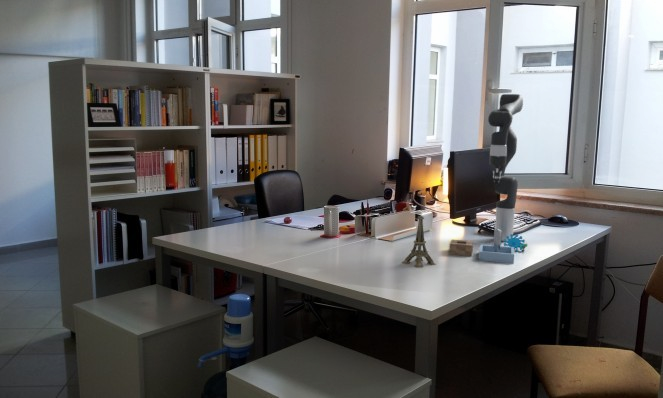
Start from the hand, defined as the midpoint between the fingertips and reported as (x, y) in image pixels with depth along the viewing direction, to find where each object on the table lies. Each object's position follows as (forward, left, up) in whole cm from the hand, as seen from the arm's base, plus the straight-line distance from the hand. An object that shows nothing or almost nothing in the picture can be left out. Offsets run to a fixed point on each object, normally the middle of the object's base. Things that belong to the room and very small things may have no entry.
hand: (496, 189), depth 268 cm
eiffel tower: (+35, -30, -30) cm, 55 cm away
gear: (-7, +10, -30) cm, 33 cm away
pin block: (+8, -14, -30) cm, 34 cm away
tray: (+12, +2, -30) cm, 32 cm away
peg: (+12, +2, -29) cm, 31 cm away
